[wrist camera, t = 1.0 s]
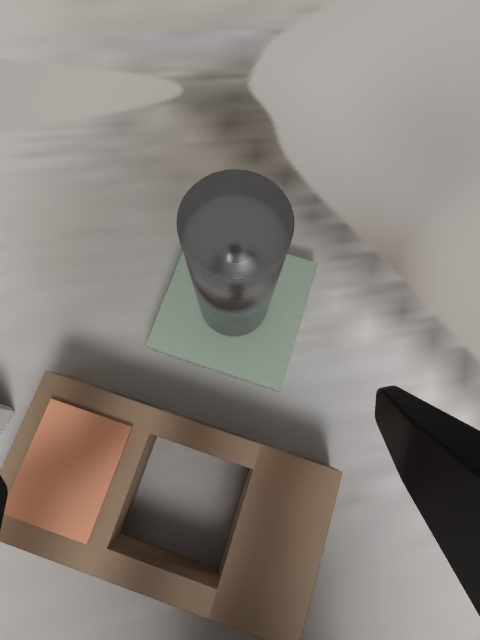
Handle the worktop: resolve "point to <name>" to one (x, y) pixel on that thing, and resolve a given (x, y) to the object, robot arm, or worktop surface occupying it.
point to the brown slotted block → (119, 491)
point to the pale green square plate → (243, 351)
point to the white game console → (5, 415)
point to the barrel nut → (235, 246)
